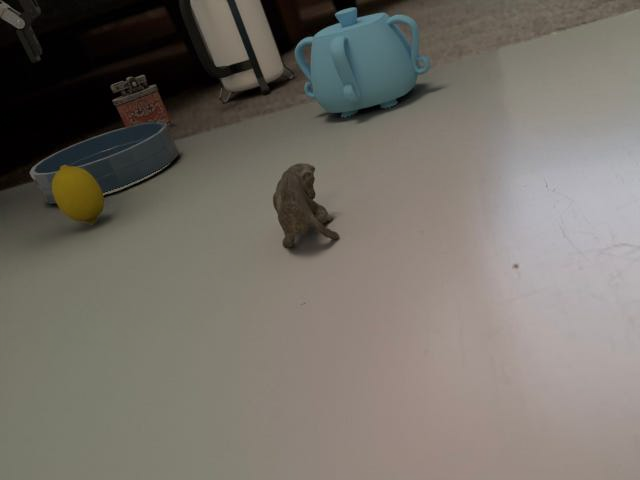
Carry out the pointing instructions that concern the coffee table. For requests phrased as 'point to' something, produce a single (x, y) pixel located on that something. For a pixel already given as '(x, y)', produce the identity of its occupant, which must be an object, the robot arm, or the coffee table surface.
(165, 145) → the bowl
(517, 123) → the coffee table surface
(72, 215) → the lemon
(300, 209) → the brown furry figure
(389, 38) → the decorative pot
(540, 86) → the coffee table surface
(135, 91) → the lighter
